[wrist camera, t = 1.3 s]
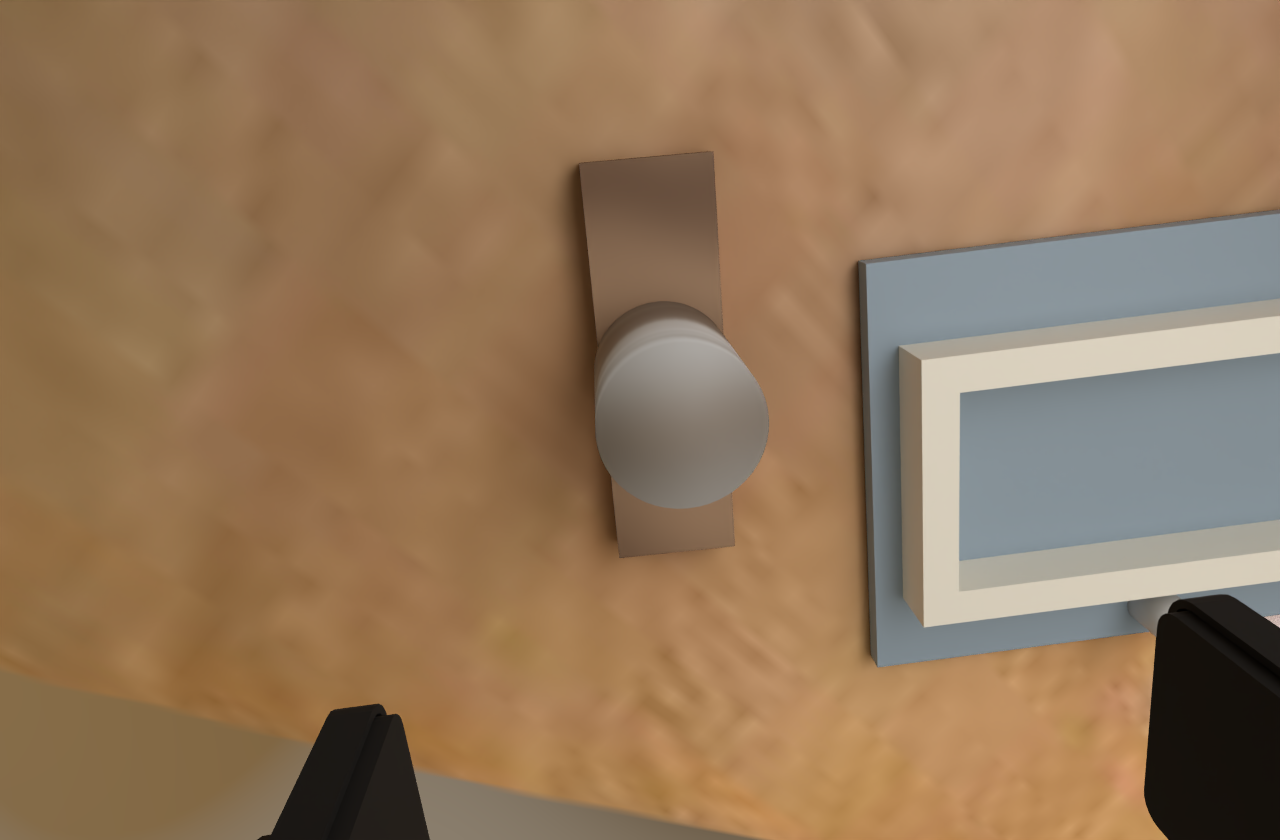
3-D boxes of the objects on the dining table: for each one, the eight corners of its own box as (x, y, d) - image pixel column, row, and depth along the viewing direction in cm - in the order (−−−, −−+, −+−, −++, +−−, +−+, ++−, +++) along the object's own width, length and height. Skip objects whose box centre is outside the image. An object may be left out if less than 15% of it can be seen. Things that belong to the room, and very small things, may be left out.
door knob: (573, 163, 26) (567, 168, 19) (712, 150, 26) (758, 151, 19) (612, 539, 30) (619, 659, 23) (733, 527, 30) (777, 642, 23)
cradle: (858, 260, 28) (893, 274, 24) (1466, 186, 28) (1577, 191, 25) (871, 654, 32) (901, 709, 29) (1392, 586, 33) (1477, 633, 29)
